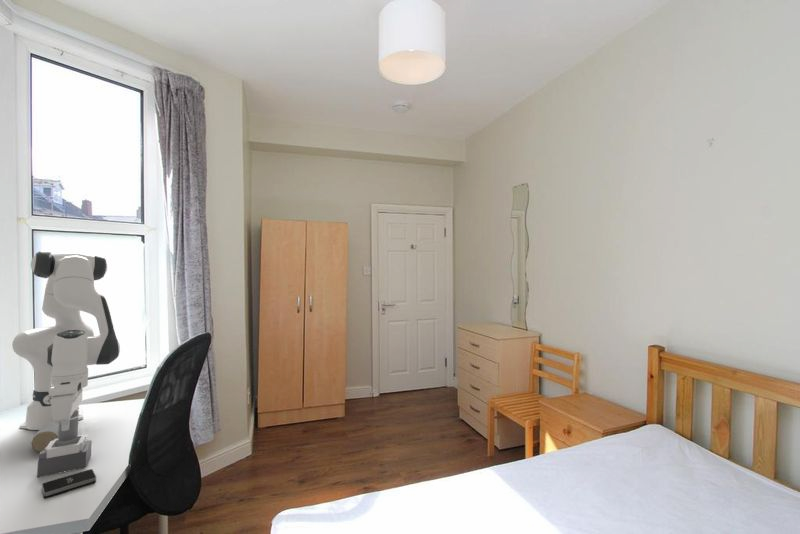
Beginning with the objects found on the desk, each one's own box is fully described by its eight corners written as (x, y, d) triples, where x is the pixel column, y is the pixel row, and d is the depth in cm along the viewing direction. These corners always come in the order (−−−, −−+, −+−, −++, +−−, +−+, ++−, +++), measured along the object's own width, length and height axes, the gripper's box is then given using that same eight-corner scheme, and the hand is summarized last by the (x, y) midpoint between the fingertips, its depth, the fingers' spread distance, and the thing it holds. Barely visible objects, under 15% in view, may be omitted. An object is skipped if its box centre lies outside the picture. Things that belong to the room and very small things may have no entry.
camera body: (46, 464, 116) (47, 440, 116) (90, 455, 122) (91, 432, 122) (37, 477, 108) (38, 451, 108) (85, 467, 114) (86, 443, 114)
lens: (59, 437, 116) (60, 411, 116) (79, 433, 119) (80, 408, 119) (55, 442, 112) (56, 416, 112) (76, 439, 115) (77, 413, 115)
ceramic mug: (28, 455, 121) (30, 432, 121) (37, 445, 128) (39, 423, 129) (70, 449, 126) (72, 426, 127) (77, 439, 133) (78, 418, 134)
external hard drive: (96, 484, 106) (96, 477, 106) (43, 501, 98) (43, 493, 98) (91, 475, 111) (92, 468, 111) (40, 490, 102) (41, 483, 102)
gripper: (64, 376, 123) (62, 417, 123) (47, 392, 106) (45, 440, 105) (88, 373, 126) (87, 414, 126) (75, 389, 109) (74, 436, 109)
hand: (68, 426), depth 115 cm, fingers closed on lens, 5 cm apart
